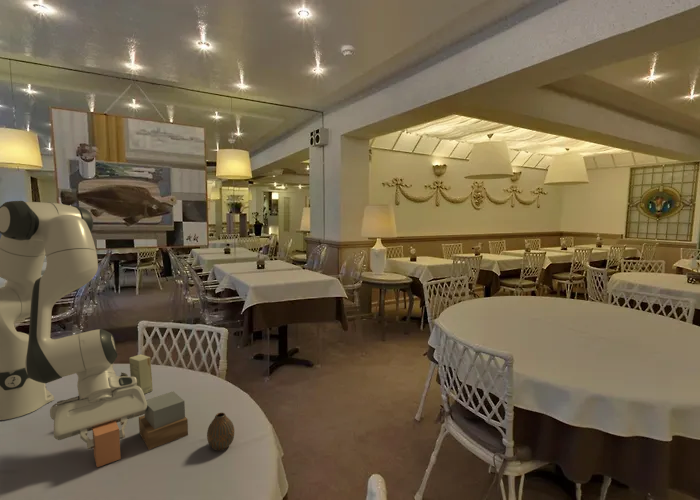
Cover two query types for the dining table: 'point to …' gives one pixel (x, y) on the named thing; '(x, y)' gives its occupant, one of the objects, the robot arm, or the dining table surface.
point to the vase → (220, 432)
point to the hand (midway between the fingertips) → (106, 442)
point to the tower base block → (162, 432)
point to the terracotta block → (106, 443)
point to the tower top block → (164, 409)
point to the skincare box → (142, 372)
